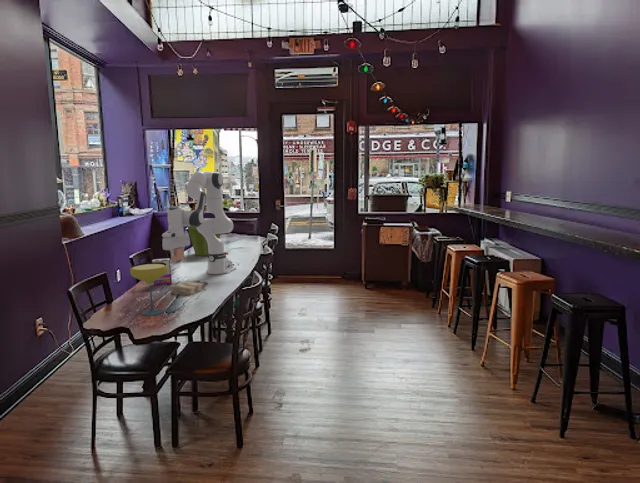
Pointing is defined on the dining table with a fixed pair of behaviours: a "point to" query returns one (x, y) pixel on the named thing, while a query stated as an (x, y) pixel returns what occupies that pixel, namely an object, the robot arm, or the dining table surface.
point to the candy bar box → (167, 277)
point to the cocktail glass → (149, 279)
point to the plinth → (188, 288)
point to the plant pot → (199, 241)
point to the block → (178, 254)
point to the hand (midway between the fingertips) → (177, 255)
